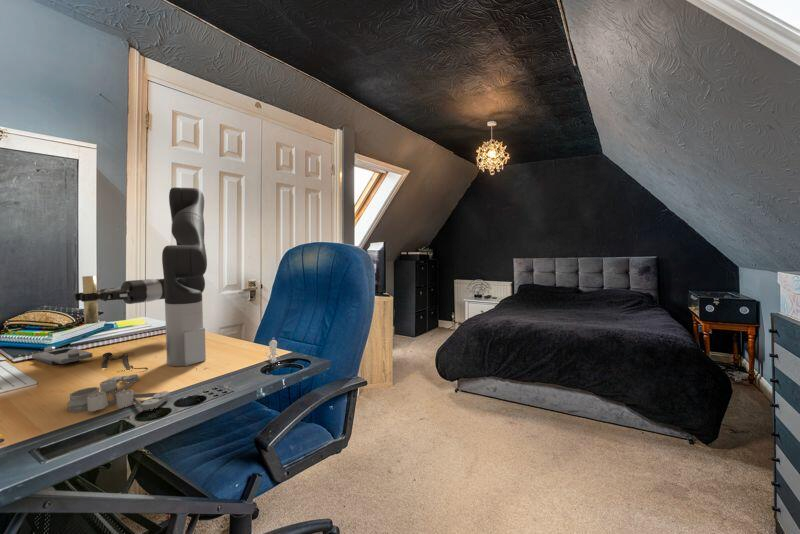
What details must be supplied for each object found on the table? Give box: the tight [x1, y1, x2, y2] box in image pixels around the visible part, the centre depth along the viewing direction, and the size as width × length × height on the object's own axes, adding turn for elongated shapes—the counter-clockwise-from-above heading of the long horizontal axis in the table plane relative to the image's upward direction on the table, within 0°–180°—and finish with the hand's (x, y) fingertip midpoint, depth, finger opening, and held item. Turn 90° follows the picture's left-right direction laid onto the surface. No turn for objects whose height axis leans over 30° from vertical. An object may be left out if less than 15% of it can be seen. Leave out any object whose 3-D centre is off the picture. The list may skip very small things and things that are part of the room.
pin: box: [81, 275, 99, 325], centre depth 111 cm, size 3×3×14 cm
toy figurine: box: [265, 337, 280, 366], centre depth 107 cm, size 5×8×7 cm, turn 42°
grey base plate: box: [31, 346, 93, 366], centre depth 108 cm, size 19×7×4 cm, turn 62°
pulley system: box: [66, 373, 171, 413], centre depth 81 cm, size 27×5×15 cm
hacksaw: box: [101, 351, 149, 374], centre depth 105 cm, size 24×10×2 cm, turn 36°
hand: (78, 297), depth 109 cm, fingers closed on pin, 3 cm apart
